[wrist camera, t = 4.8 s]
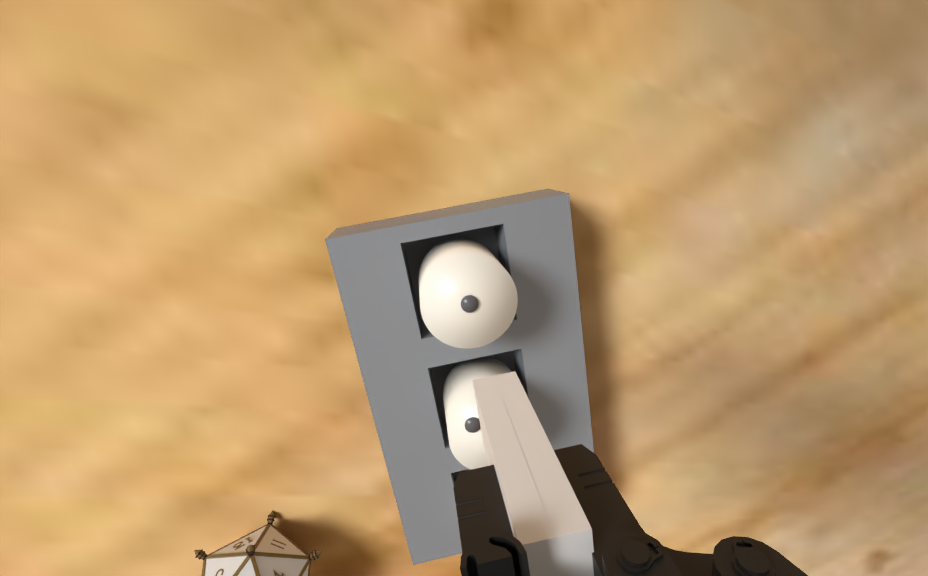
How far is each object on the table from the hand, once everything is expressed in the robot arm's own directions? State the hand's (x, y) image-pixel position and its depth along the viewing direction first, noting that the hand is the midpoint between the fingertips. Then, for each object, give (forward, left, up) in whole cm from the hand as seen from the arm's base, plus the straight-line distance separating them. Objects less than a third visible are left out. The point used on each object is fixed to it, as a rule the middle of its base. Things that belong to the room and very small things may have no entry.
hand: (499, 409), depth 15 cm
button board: (+7, 0, -16) cm, 17 cm away
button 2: (+7, 0, -13) cm, 15 cm away
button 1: (-1, 0, -13) cm, 13 cm away
